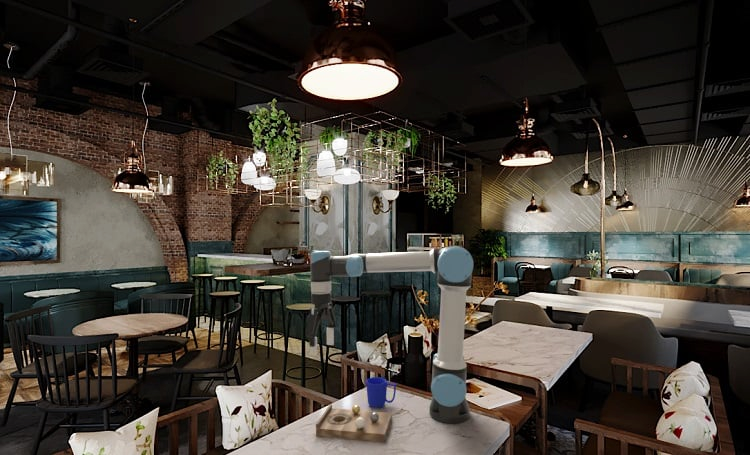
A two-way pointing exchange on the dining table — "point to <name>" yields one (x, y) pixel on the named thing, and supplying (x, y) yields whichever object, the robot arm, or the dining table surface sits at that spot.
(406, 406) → the dining table surface
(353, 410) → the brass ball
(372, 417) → the steel ball
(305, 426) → the dining table surface
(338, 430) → the deck
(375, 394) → the mug
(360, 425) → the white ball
